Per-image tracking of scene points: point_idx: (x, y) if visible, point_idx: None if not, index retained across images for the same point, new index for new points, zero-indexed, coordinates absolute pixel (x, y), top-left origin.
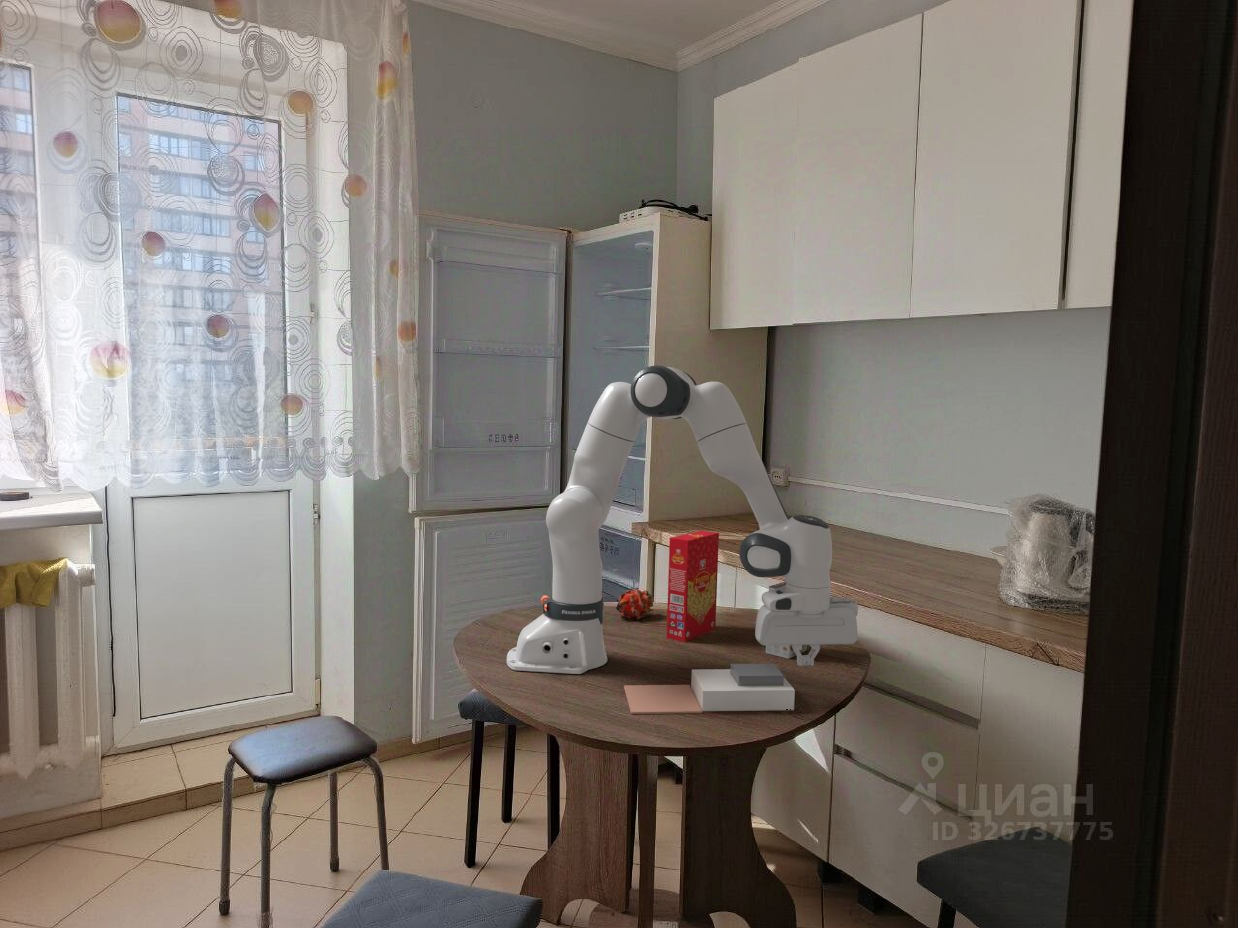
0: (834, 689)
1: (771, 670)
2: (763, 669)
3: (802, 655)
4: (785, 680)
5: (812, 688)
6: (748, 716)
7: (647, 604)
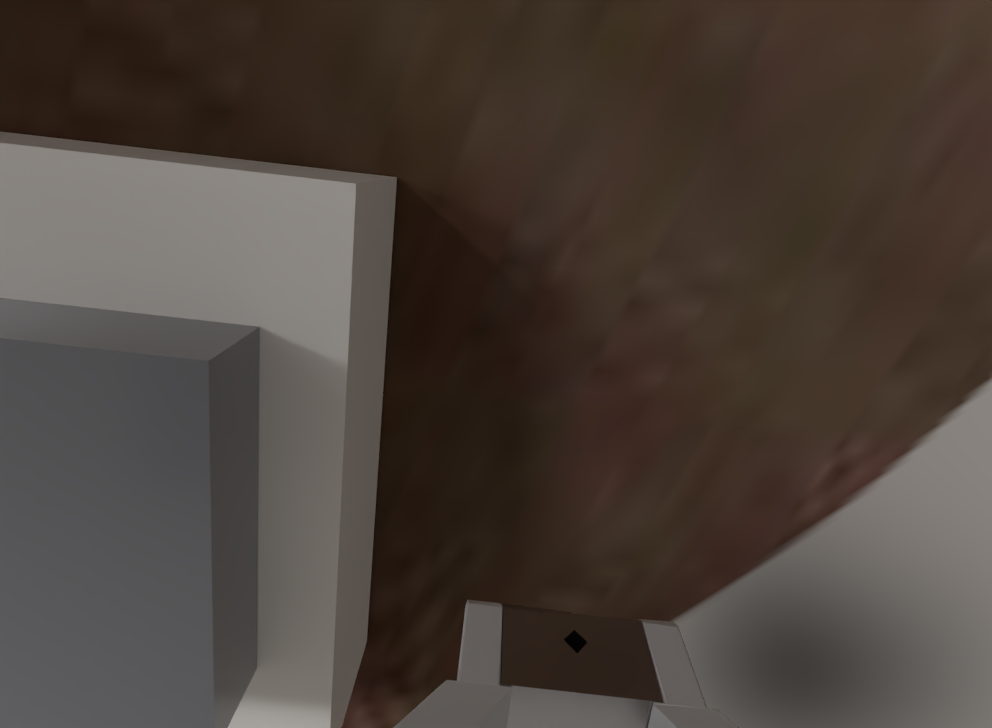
0: (926, 300)
1: (105, 597)
2: (8, 551)
3: (544, 700)
4: (323, 554)
5: (734, 246)
6: None
7: None
